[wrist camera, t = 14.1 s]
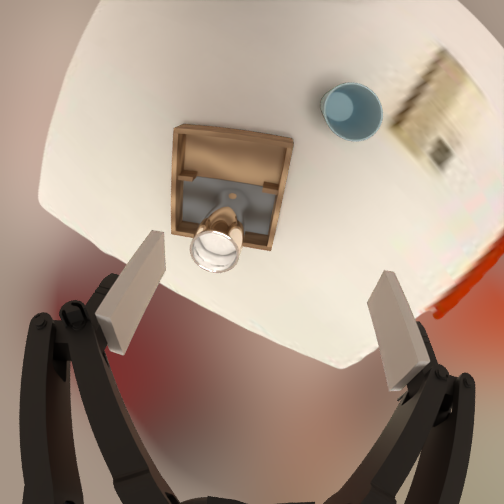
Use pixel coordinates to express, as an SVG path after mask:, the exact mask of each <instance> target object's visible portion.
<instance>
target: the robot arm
mask: <svg viewBox="0 0 504 504" xmlns="http://www.w3.org/2000/svg"><path fill="white" fill-rule="evenodd" d="M165 271H166V263H165V245H164V232H160V231H154V230H152V231H151V232H150V233H149V235H148V236H147V237H146V239H145V240H144V241H143V243H142V244H141V246H140V247H139V248H138V250H137V251H136V252H135V254H134V255H133V257H132V258H131V259H130V261H129V262H128V264H127V265H126V267H125V268H124V270H123V271H122V272H121V274H120V275H117V274H113V273H111V274H110V275H108V276H107V277H105V278H104V279H103V280H102V282H101V283H100V285H99V287H98V288H97V289H96V290H95V293H93V295H92V297H91V298H90V299H89V301H88V302H87V304H86V305H84V303H82V302H81V301H77V300H73V301H69V302H67V303H65V304H64V305H63V306H62V307H61V309H60V312H59V316H60V318H61V320H62V321H61V320H53V319H52V318H51V316H50V315H49V314H48V313H44V312H43V313H38V314H37V315H35V316H34V317H33V318H32V320H31V322H30V325H29V330H28V335H27V341H26V347H25V354H24V360H23V369H22V378H21V391H20V415H19V418H20V419H19V420H20V423H19V424H20V448H21V461H22V470H23V477H24V484H25V486H24V493H23V502H22V504H84V502H83V493H82V487H81V483H80V477H79V472H78V467H77V461H76V455H75V447H74V439H73V430H72V419H71V401H70V361H72V364H73V369H74V373H75V377H76V381H77V384H78V388H79V391H80V395H81V398H82V401H83V405H84V408H85V411H86V414H87V416H88V420H89V423H90V425H91V428H92V431H93V433H94V436H95V438H96V441H97V443H98V446H99V448H100V451H101V453H102V455H103V457H104V460H105V462H106V464H107V466H108V468H109V470H110V472H111V475H112V477H113V485H114V488H115V490H116V492H117V494H118V496H119V498H120V500H121V502H122V503H123V504H246V503H243V502H240V501H237V500H232V499H224V498H218V497H211V496H208V497H201V498H194V499H190V500H187V501H184V502H181V503H180V502H179V500H178V499H177V497H176V496H175V495H174V493H173V491H172V490H171V488H170V487H169V486H168V484H167V483H166V481H165V480H164V479H163V478H162V476H161V474H160V473H159V471H158V469H157V468H156V466H155V464H154V463H153V461H152V459H151V457H150V455H149V454H148V452H147V450H146V448H145V446H144V444H143V443H142V440H141V438H140V436H139V434H138V432H137V430H136V429H135V426H134V424H133V422H132V420H131V418H130V415H129V413H128V411H127V409H126V407H125V404H124V402H123V399H122V397H121V394H120V392H119V390H118V387H117V384H116V382H115V379H114V377H113V374H112V371H111V368H110V365H109V363H108V360H107V356H106V353H105V351H104V350H105V348H106V346H107V345H108V347H109V349H110V351H112V352H115V353H118V354H121V355H124V354H125V352H126V350H127V348H128V345H129V343H130V341H131V339H132V337H133V335H134V332H135V330H136V328H137V326H138V324H139V322H140V320H141V318H142V316H143V314H144V312H145V310H146V307H147V305H148V303H149V302H150V299H151V298H152V296H153V294H154V292H155V290H156V288H157V286H158V284H159V282H160V280H161V278H162V276H163V274H164V272H165ZM367 305H368V308H369V311H370V315H371V318H372V322H373V326H374V329H375V333H376V337H377V341H378V345H379V349H380V353H381V357H382V361H383V366H384V370H385V374H386V379H387V384H388V389H389V391H400V390H402V389H403V388H404V387H405V386H406V385H407V388H408V391H406V392H405V393H404V394H403V395H402V396H401V397H399V398H398V400H397V401H399V400H400V399H401V401H400V403H399V405H398V407H397V408H396V410H395V412H394V414H393V415H392V417H391V419H390V421H389V422H388V424H387V426H386V427H385V429H384V430H383V432H382V434H381V435H380V437H379V438H378V440H377V441H376V443H375V444H374V446H373V447H372V449H371V450H370V452H369V453H368V454H367V456H366V457H365V459H364V460H363V461H362V463H361V464H360V465H359V467H358V468H357V469H356V471H355V472H354V473H353V474H352V476H351V477H350V478H349V479H348V481H347V482H346V483H345V484H344V486H343V487H342V488H341V489H340V490H339V491H338V492H337V493H335V494H334V495H332V496H331V497H330V498H328V499H327V500H326V502H324V503H323V504H396V500H395V496H396V494H397V492H398V491H399V489H400V487H401V486H402V484H403V483H404V481H405V479H406V477H407V476H408V474H409V472H410V471H411V468H412V467H413V465H414V463H415V461H416V460H417V457H418V456H419V454H420V452H421V454H420V458H419V461H418V465H417V468H416V472H415V475H414V478H413V481H412V484H411V487H410V490H409V492H408V495H407V498H406V500H405V503H404V504H459V502H460V498H461V495H462V491H463V487H464V483H465V478H466V473H467V469H468V463H469V458H470V451H471V444H472V436H473V426H474V412H475V381H474V379H473V377H471V375H470V374H468V373H462V374H461V375H460V376H459V377H454V376H451V375H449V373H448V371H447V369H446V368H445V367H444V366H442V365H440V364H438V363H437V360H436V357H435V354H434V351H433V348H432V346H431V343H430V341H429V338H428V335H427V333H426V330H425V328H424V327H423V326H422V325H421V323H420V322H417V321H415V318H414V316H413V313H412V311H411V308H410V306H409V304H408V301H407V299H406V297H405V294H404V292H403V290H402V288H401V286H400V283H399V281H398V279H397V277H396V275H395V273H394V272H391V271H386V270H384V271H383V273H382V275H381V277H380V279H379V281H378V283H377V285H376V287H375V289H374V291H373V292H372V294H371V296H370V298H369V300H368V302H367ZM451 409H452V412H451ZM280 504H315V502H304V503H303V502H301V503H280Z"/></svg>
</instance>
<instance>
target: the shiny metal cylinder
mask: <svg viewBox="0 0 504 504" xmlns="http://www.w3.org/2000/svg"><path fill="white" fill-rule="evenodd" d="M248 209H249V202H248V199H247V197H246V196H245V195H244V194H243V193H242V192H240V191H238V190H235V189H226V190H224V191H222V192H220V193H219V194H218V195H217V197H216V199H215V203H214V207H213V208H212V209H211V210H210V211H209V212H208V213H207V214H206V215H205V216H204V217H203V218H202V220H201V221H200V223H199V225H198V227H197V229H196V231H195V234H194V237H193V240H192V242H191V244H190V254H191V257H192V259H193V260H194V262H195V263H196V264H197V265H198V266H199V267H201V268H202V269H204V270H206V271H209V272H213V273H222V272H226V271H229V270H231V269H232V268H233V267H234V266H235V265H236V264H237V262H238V260H239V256H240V253H241V251H242V248H243V244H244V239H245V221H244V217H245V216H246V214H247V212H248Z"/></svg>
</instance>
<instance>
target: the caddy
mask: <svg viewBox="0 0 504 504" xmlns="http://www.w3.org/2000/svg"><path fill="white" fill-rule="evenodd" d="M293 145H294V143H293V139H292V138H287V137H282V136H277V135H271V134H265V133H259V132H252V131H245V130H238V129H230V128H222V127H213V126H202V125H190V124H182V125H180V126H178V127H175V128H174V132H173V150H172V176H171V234H173V235H179V236H185V237H191V238H193V237H194V234H195V231H196V229H197V227H198V225H199V223H200V221H201V220H202V218H203V217H204V216H205V215H206V214H207V213H208V212H209V211H210V210H211V209H212V208H213V207H214V203H215V199H216V197H217V195H218V194H219V193H220V192H222V191H224V190H226V189H235V190H238V191H240V192H242V193H243V194H244V195H245V196H246V197H247V199H248V202H249V209H248V212H247V214H246V216H245V217H244V221H245V239H244V244H243V246H244V247H250V248H256V249H261V250H267V251H271V249H272V244H273V240H274V235H275V231H276V226H277V222H278V217H279V212H280V208H281V203H282V198H283V194H284V189H285V184H286V179H287V175H288V170H289V165H290V160H291V155H292V150H293Z"/></svg>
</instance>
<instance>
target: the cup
mask: <svg viewBox="0 0 504 504" xmlns="http://www.w3.org/2000/svg"><path fill="white" fill-rule="evenodd" d="M321 110H322V113H323V116H324V118H325V120H326V122H327V124H328V126H329V128H330V129H331V130H332V131H333V132H334V133H335V134H336V135H337V136H339V137H341V138H343V139H345V140H348V141H363V140H366V139H368V138H370V137H371V136H373V135H374V134H375V133H376V132H377V131H378V129H379V127H380V125H381V123H382V119H383V110H382V106H381V103H380V101H379V99H378V97H377V96H376V94H375V93H374V92H373V91H372V90H370V89H369V88H368V87H366V86H364V85H362V84H358V83H344V84H340V85H338V86H336V87H335V88H333V89H332V90H330V91H329V92H327V93H326V94H325V95H324V97H323V98H322V100H321Z"/></svg>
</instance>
